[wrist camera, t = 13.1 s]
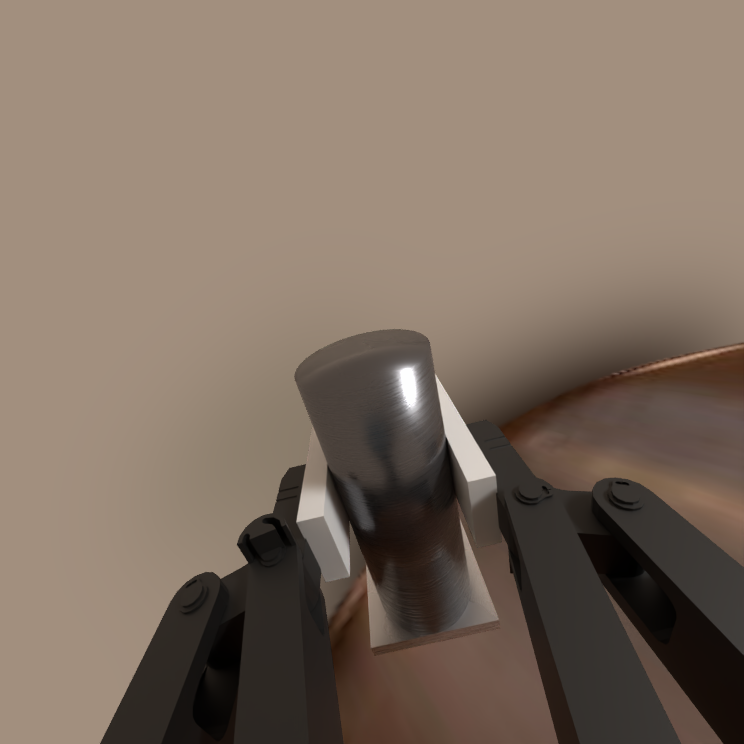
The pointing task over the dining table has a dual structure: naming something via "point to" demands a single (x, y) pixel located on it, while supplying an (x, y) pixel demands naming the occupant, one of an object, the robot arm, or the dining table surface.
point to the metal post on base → (396, 486)
